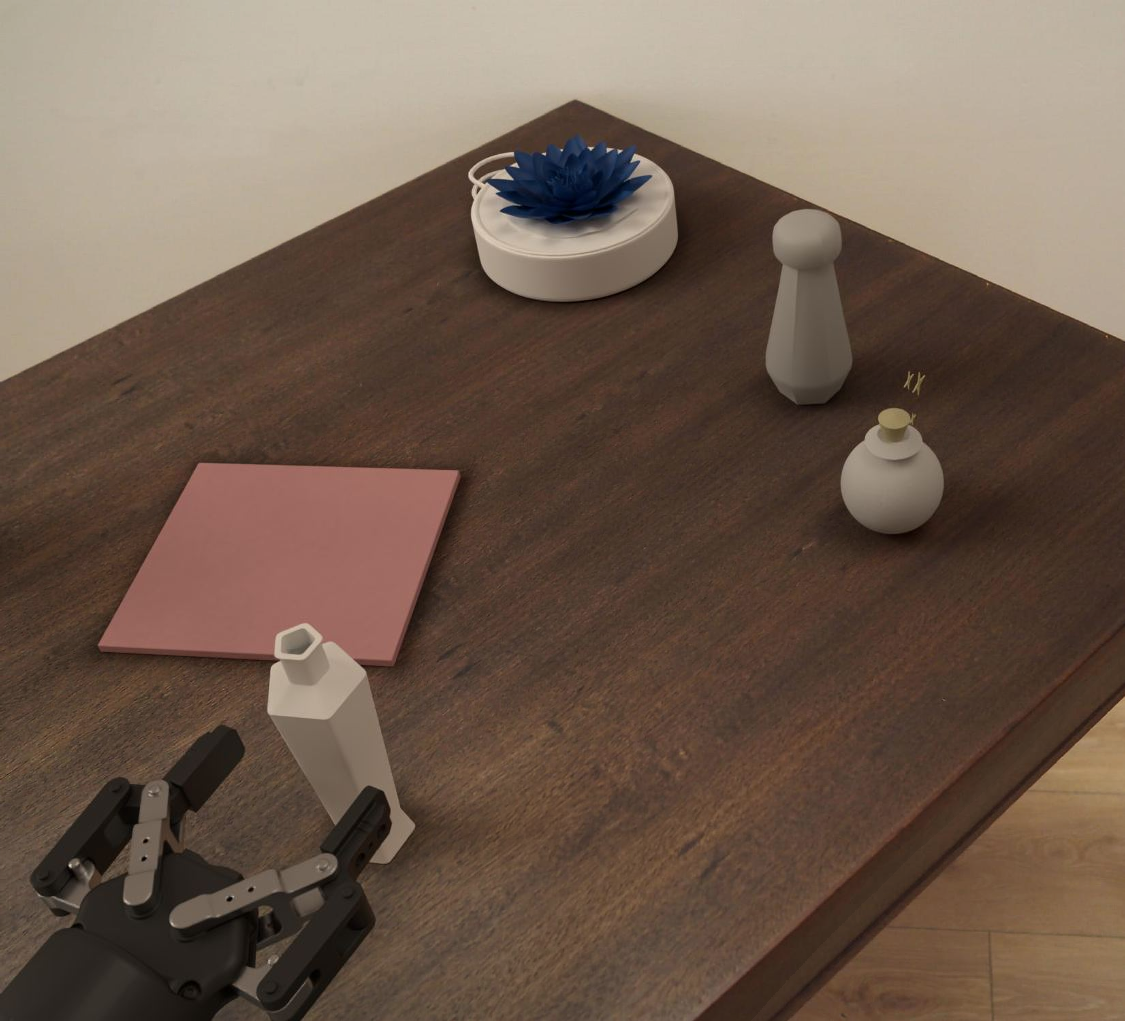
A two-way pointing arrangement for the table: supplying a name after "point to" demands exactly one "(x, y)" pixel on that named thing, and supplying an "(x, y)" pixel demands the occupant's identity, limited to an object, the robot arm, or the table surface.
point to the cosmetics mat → (286, 561)
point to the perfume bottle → (332, 727)
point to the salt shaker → (808, 310)
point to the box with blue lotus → (573, 221)
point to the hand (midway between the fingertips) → (305, 766)
